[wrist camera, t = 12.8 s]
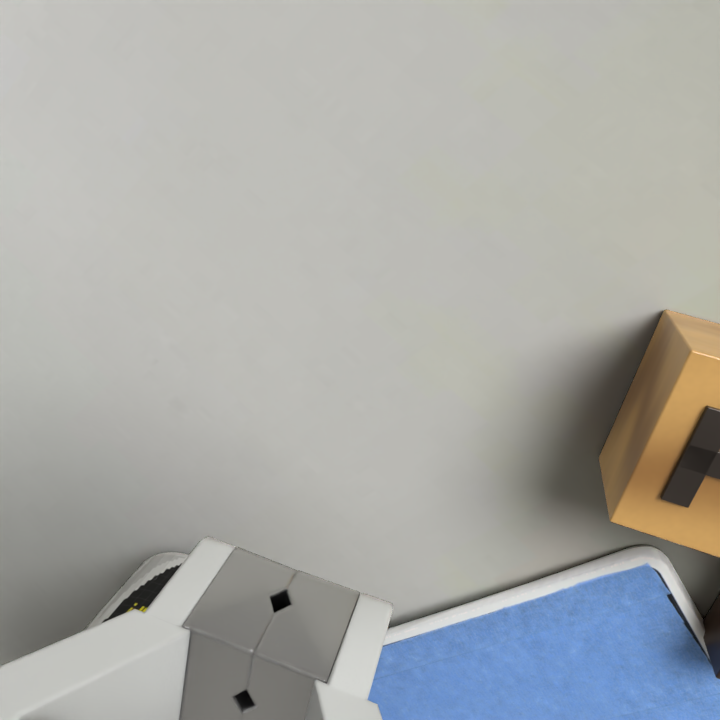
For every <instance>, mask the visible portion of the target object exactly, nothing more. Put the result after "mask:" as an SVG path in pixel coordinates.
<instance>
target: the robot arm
mask: <svg viewBox="0 0 720 720" xmlns="http://www.w3.org/2000/svg"><path fill="white" fill-rule="evenodd" d="M392 612H393V603H390V602H387V601H384V600H381V599H378V598H376V597H373V596H370V595H367V594H364V593H361V594H360V592H358V591H356V590H353V589H350V588H347V587H344V586H341V585H339V584H336V583H333V582H330V581H327V580H324V579H322V578H319V577H316V576H313V575H310V574H308V573H305V572H302V571H297V570H295V569H292V568H290V567H287V566H285V565H282V564H280V563H277V562H275V561H272V560H270V559H267V558H265V557H262V556H259V555H257V554H254V553H252V552H249V551H247V550H244V549H242V548H239V547H238V548H237V547H235V546H232V545H230V544H227V543H225V542H222V541H220V540H217V539H215V538H212V537H210V536H207V537H205V538H204V539H202V540H201V541H199V543H198V544H197V545H196V546H195V548H194V549H193V550H192V552H191V553H190V554H189V555H188V557H187V558H186V559H185V561H184V562H183V563H182V564H181V566H180V567H179V568H178V570H177V571H176V572H175V573H174V575H173V576H172V577H171V579H170V580H169V581H168V582H167V584H166V585H165V586H164V588H163V589H162V590H161V591H160V593H159V594H158V595H157V597H156V598H155V599H154V600H153V602H152V603H151V604H150V606H149V607H148V608H147V609H146V611H145V612H142V611H139V610H136V609H134V610H131V611H129V612H126V613H124V614H122V615H119V616H117V617H115V618H112V619H110V620H108V621H105V622H103V623H101V624H98V625H96V626H93V627H91V628H89V629H86V630H84V631H82V632H79V633H77V634H75V635H72V636H70V637H68V638H65V639H63V640H60V641H58V642H56V643H53V644H51V645H49V646H46V647H44V648H42V649H39V650H37V651H35V652H32V653H30V654H27V655H25V656H23V657H20V658H18V659H16V660H13V661H11V662H9V663H6V664H4V665H2V666H0V720H383V719H382V716H381V713H380V710H379V707H378V704H376V703H373V702H371V701H369V700H368V696H369V693H370V689H371V686H372V682H373V679H374V675H375V672H376V668H377V664H378V661H379V657H380V654H381V650H382V647H383V643H384V640H385V636H386V633H387V629H388V626H389V622H390V619H391V615H392Z"/></svg>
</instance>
